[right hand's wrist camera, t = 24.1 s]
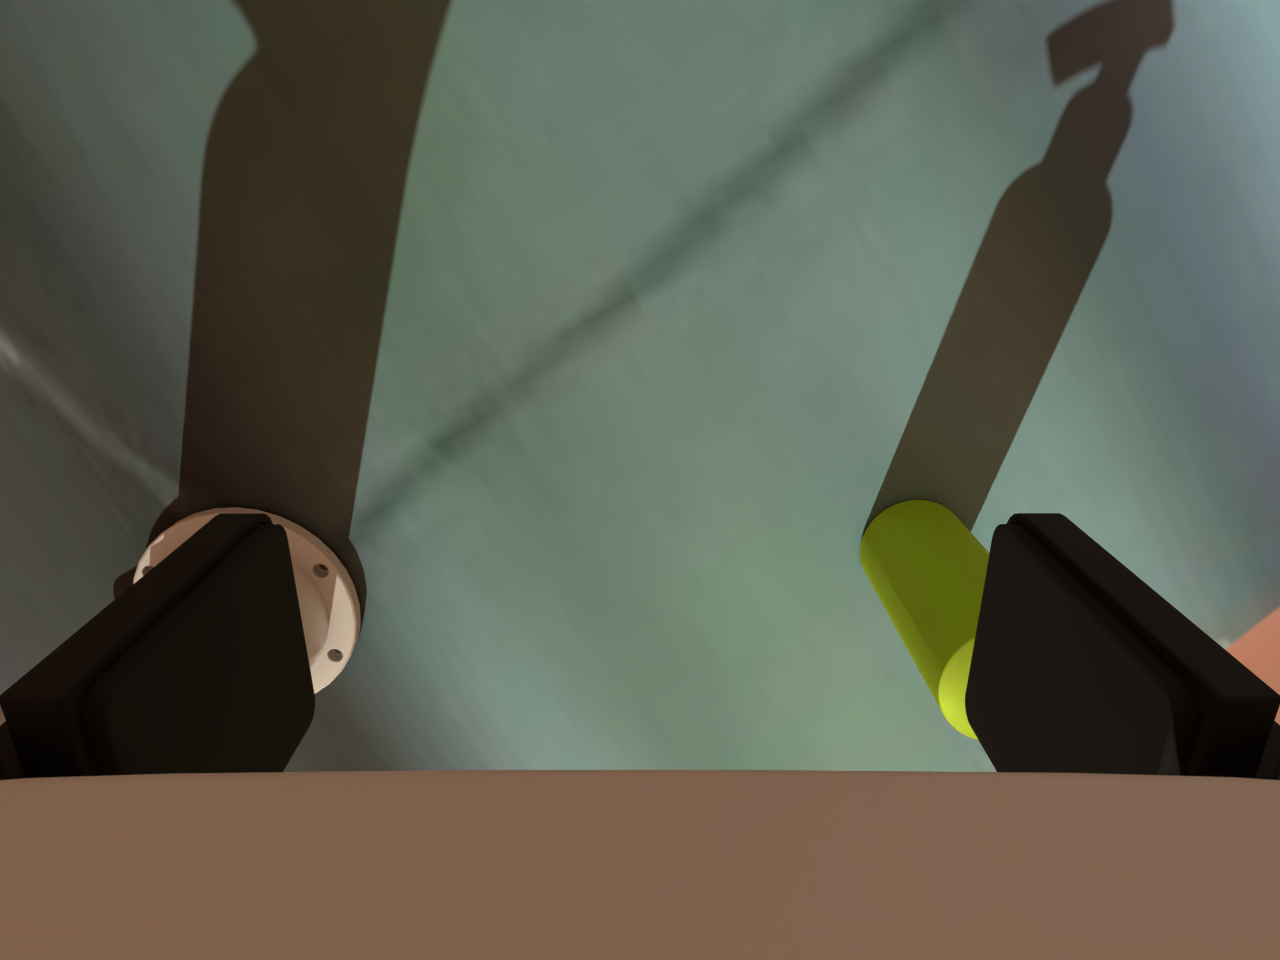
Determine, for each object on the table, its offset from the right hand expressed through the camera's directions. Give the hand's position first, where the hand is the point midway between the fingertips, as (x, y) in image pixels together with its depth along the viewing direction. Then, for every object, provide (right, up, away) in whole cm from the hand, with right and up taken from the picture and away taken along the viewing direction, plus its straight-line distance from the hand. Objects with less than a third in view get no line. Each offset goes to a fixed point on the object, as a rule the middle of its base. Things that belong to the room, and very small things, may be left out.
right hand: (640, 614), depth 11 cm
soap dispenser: (+15, -2, +36) cm, 39 cm away
